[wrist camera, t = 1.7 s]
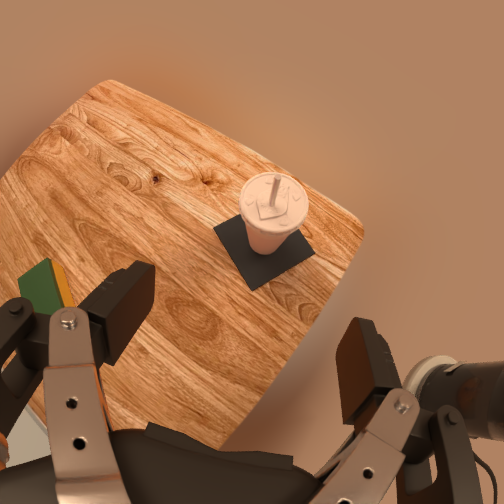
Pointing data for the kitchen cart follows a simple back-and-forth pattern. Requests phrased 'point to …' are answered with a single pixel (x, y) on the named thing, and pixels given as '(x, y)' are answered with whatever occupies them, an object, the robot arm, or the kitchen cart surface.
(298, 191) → the smoothie
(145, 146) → the kitchen cart surface
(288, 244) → the cloth
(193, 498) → the robot arm
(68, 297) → the scrubber
